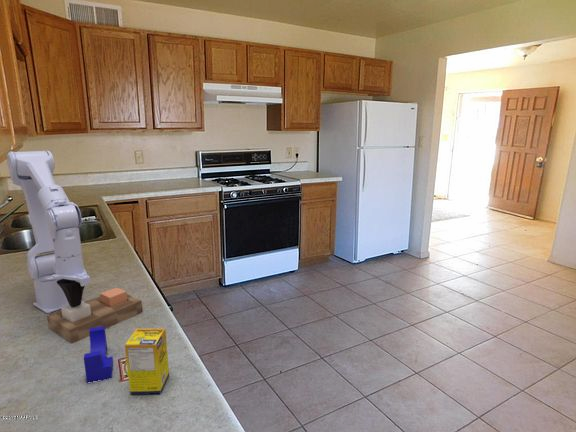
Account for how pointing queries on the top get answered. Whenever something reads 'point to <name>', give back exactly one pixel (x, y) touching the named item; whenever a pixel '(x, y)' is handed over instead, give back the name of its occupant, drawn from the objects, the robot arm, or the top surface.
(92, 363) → the blue notched block
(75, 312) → the white block
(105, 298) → the terracotta button
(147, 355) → the supplement box
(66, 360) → the top surface
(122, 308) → the brown block tray
